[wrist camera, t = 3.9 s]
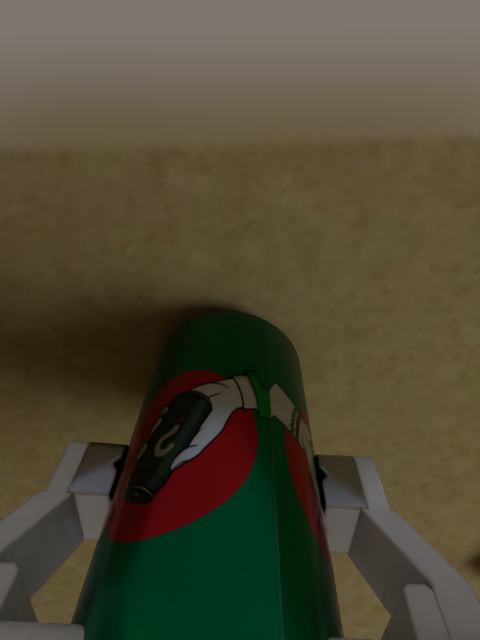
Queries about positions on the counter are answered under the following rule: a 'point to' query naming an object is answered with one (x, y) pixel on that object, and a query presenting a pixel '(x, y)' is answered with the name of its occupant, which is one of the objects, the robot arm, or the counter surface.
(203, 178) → the counter surface
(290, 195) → the counter surface
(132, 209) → the counter surface
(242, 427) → the soda can
